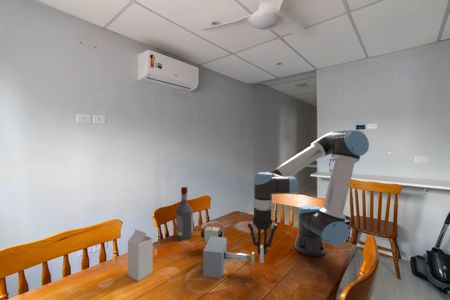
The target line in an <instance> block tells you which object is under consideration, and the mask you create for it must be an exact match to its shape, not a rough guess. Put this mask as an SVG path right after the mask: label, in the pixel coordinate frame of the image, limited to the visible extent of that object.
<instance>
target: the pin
mask: <svg viewBox="0 0 450 300" xmlns="http://www.w3.org/2000/svg"><path fill="white" fill-rule="evenodd" d="M255 258H256V255H255V251H251V252H250V253H239V252H229V251H228V252H227V251H226V252H224V259H226V260H230V261H231V260H232V261H241V262H242V261H243V262H250V265H255Z"/></svg>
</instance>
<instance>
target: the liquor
mask: <svg viewBox="0 0 450 300" xmlns="http://www.w3.org/2000/svg"><path fill="white" fill-rule="evenodd" d="M180 188H181V189H180V193H181V195H180V196H181V200H180V204H179V205H178V206H177V207H176V208H175V231H174V232H175V233H174V234H175V237H176V238H177V240H178V241H179V240H180V241H185V240H189V239H191V238H193V234H194V210H193V208H192V206H190V204H189V203H188V187H187V186H182V187H180Z"/></svg>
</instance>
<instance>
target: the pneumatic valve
mask: <svg viewBox="0 0 450 300" xmlns="http://www.w3.org/2000/svg"><path fill="white" fill-rule="evenodd" d="M210 237H224V238H225V232H224V230H222V227H216V226H205V227H204V228H203V229H201V231H200V238H202V241H203V242H205V243H206V242H208V240H209V238H210Z"/></svg>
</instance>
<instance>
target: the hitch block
mask: <svg viewBox="0 0 450 300" xmlns="http://www.w3.org/2000/svg"><path fill="white" fill-rule="evenodd" d="M227 239H228V238H227V237H225V236H224V237H210V238H209V240H208V242H207V243H206V245H205V247H204V249H203V250H202V252H203V253H202V255H203V256H202V260H203V261H202V277H206V278H215V279H222V278H223V275H224V270H225V267H226V263H227V259H224V252H227Z"/></svg>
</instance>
